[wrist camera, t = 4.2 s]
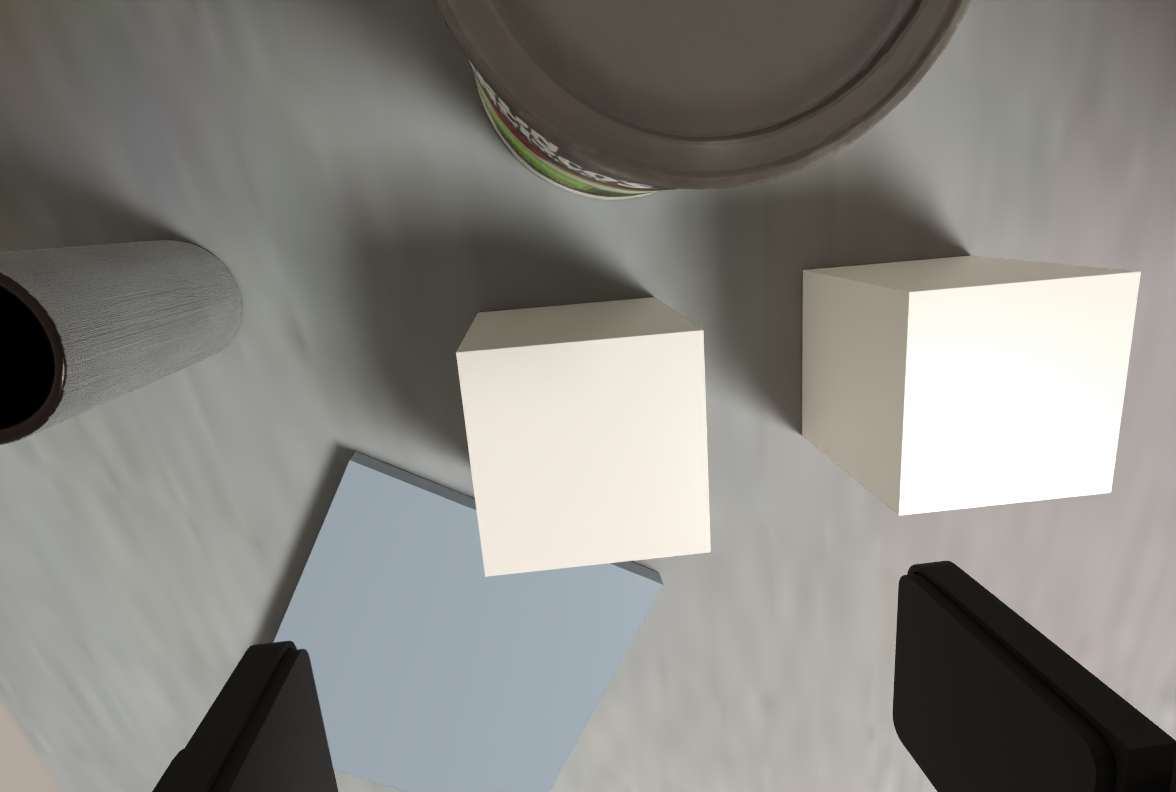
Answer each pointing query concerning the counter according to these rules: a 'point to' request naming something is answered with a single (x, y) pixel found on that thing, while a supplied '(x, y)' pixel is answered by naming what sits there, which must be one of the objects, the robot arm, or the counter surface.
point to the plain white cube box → (967, 378)
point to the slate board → (451, 641)
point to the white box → (586, 434)
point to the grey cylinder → (104, 324)
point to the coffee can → (691, 83)
